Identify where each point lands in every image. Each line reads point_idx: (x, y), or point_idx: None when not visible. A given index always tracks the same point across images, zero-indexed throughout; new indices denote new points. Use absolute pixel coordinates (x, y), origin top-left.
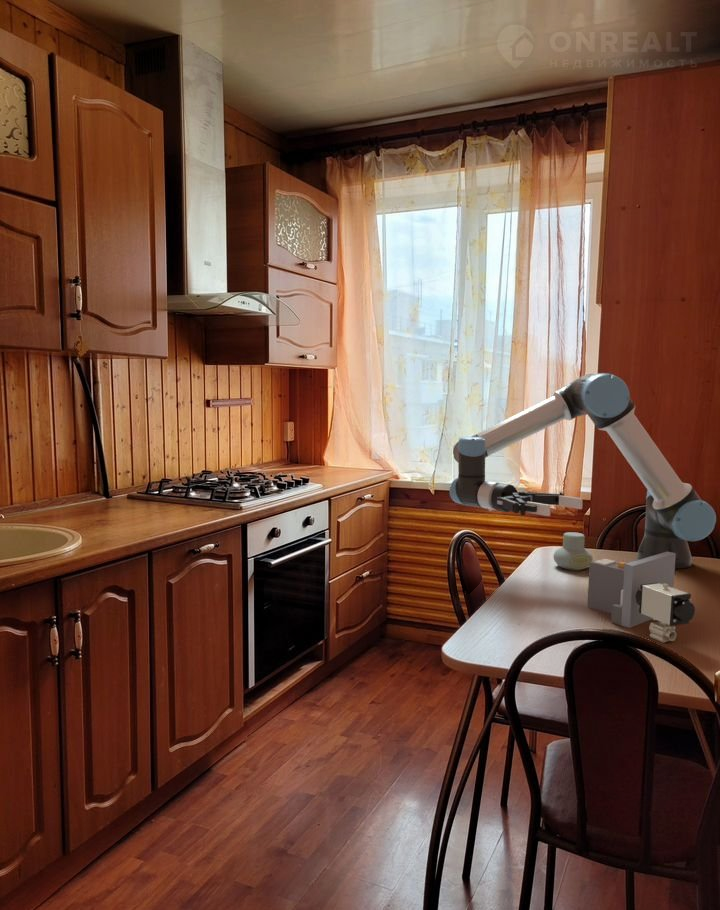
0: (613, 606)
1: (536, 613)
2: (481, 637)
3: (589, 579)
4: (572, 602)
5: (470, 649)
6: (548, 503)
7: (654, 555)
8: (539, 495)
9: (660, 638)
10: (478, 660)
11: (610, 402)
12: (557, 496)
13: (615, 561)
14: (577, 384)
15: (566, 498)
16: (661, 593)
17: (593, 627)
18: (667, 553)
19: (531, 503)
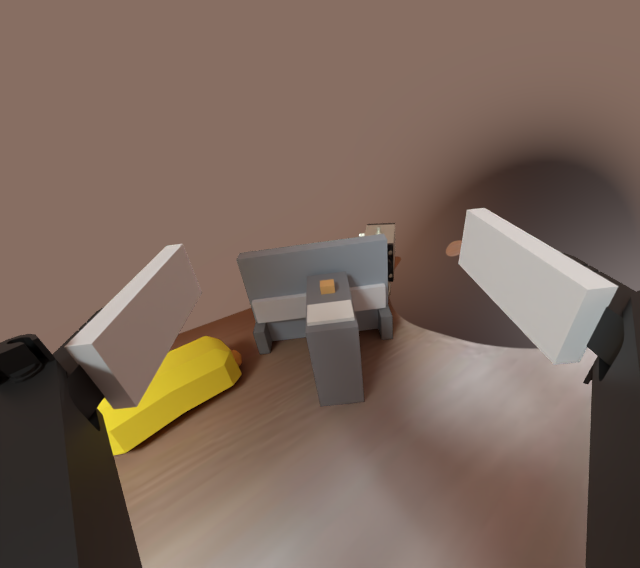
0: (391, 315)
1: (513, 425)
2: None
3: (360, 357)
4: (370, 437)
5: None
6: (114, 487)
7: (285, 252)
8: (73, 550)
9: (390, 284)
10: None
11: None
12: (59, 378)
13: (309, 305)
14: None
15: (142, 305)
16: (394, 231)
17: (437, 336)
18: (252, 254)
19: (570, 264)
